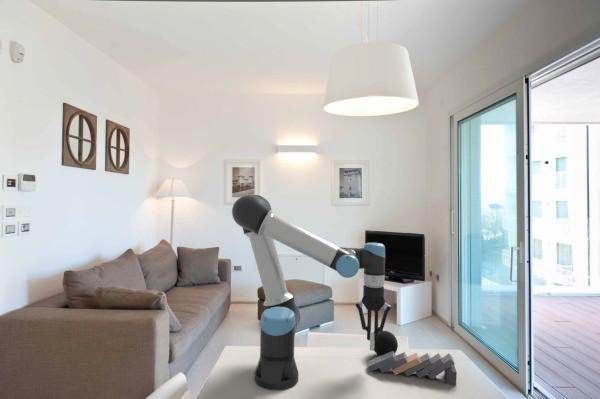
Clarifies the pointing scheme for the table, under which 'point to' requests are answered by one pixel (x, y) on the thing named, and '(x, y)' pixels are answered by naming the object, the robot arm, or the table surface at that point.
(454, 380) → the block
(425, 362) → the domino
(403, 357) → the domino
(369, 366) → the domino
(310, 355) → the table surface
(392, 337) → the black ball
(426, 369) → the domino
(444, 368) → the domino
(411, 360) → the domino
